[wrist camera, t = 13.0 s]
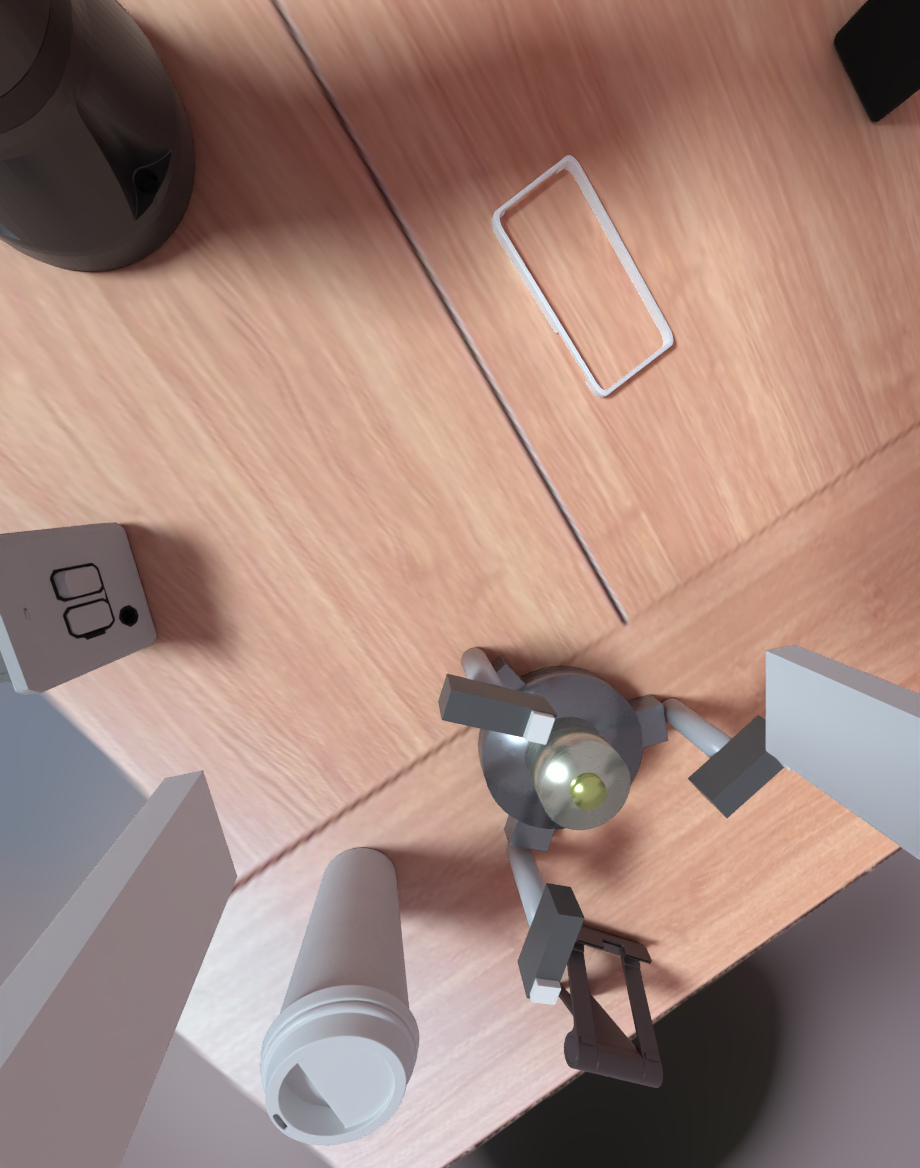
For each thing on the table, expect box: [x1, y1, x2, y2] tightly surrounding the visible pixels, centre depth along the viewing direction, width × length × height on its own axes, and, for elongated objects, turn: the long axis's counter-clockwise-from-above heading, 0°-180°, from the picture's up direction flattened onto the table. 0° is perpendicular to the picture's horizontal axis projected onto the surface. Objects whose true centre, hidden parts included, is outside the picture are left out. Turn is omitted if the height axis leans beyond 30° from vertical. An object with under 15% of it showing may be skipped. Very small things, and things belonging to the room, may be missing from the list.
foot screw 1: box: [438, 648, 557, 745], centre depth 33 cm, size 7×2×11 cm, turn 73°
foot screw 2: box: [507, 845, 584, 1005], centre depth 37 cm, size 7×2×11 cm, turn 163°
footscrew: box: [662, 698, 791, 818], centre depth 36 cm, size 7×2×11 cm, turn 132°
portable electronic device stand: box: [559, 926, 663, 1088], centre depth 42 cm, size 9×8×8 cm
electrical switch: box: [0, 523, 156, 695], centre depth 29 cm, size 9×5×9 cm, turn 9°
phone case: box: [491, 155, 673, 398], centre depth 34 cm, size 7×1×15 cm
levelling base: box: [478, 656, 668, 852], centre depth 37 cm, size 18×16×8 cm
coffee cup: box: [261, 848, 419, 1145], centre depth 33 cm, size 10×10×15 cm
